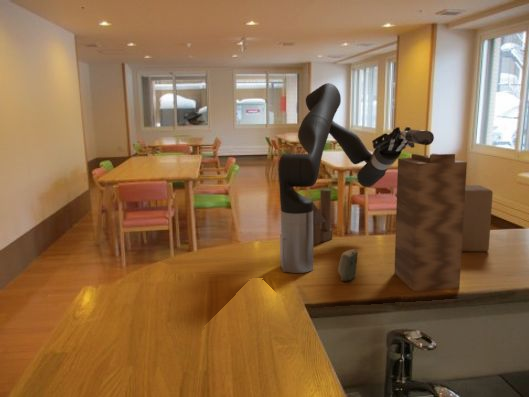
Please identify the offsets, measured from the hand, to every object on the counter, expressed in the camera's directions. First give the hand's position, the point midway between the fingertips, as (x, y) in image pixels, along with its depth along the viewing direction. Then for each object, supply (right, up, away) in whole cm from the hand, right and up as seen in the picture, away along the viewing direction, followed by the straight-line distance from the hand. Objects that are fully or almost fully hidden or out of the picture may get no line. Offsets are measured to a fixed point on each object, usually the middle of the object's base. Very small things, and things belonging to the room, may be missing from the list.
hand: (403, 129), depth 132 cm
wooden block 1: (-21, -35, +28) cm, 50 cm away
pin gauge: (+1, -4, -5) cm, 7 cm away
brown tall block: (+2, -42, -11) cm, 43 cm away
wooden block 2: (+26, -36, +17) cm, 48 cm away
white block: (-18, -42, -9) cm, 47 cm away
